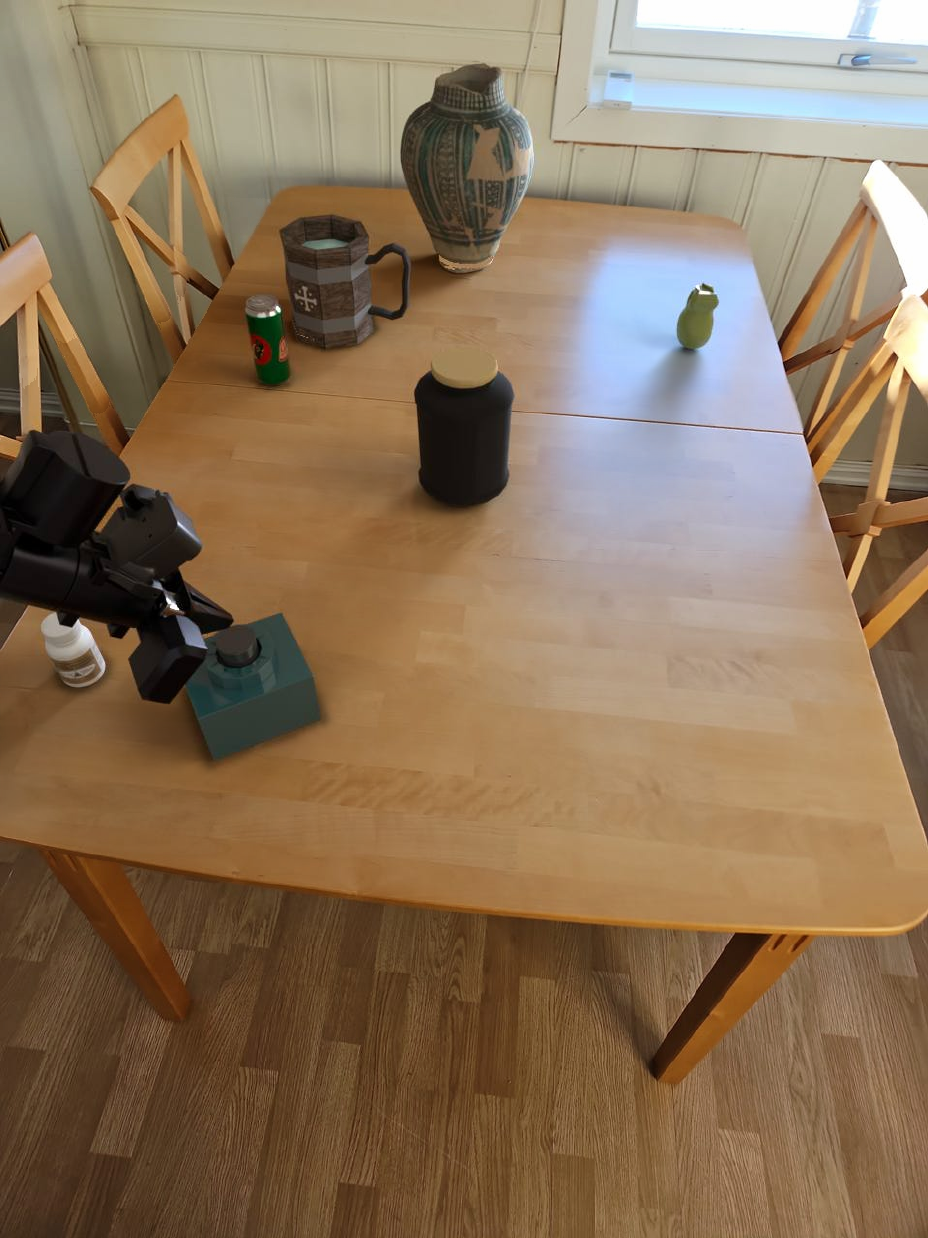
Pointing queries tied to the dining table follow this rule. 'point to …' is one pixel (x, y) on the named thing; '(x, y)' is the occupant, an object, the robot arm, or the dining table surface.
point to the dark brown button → (237, 646)
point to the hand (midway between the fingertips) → (230, 621)
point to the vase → (467, 163)
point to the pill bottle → (72, 652)
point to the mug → (334, 280)
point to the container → (464, 427)
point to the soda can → (268, 339)
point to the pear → (697, 317)
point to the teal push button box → (254, 691)
